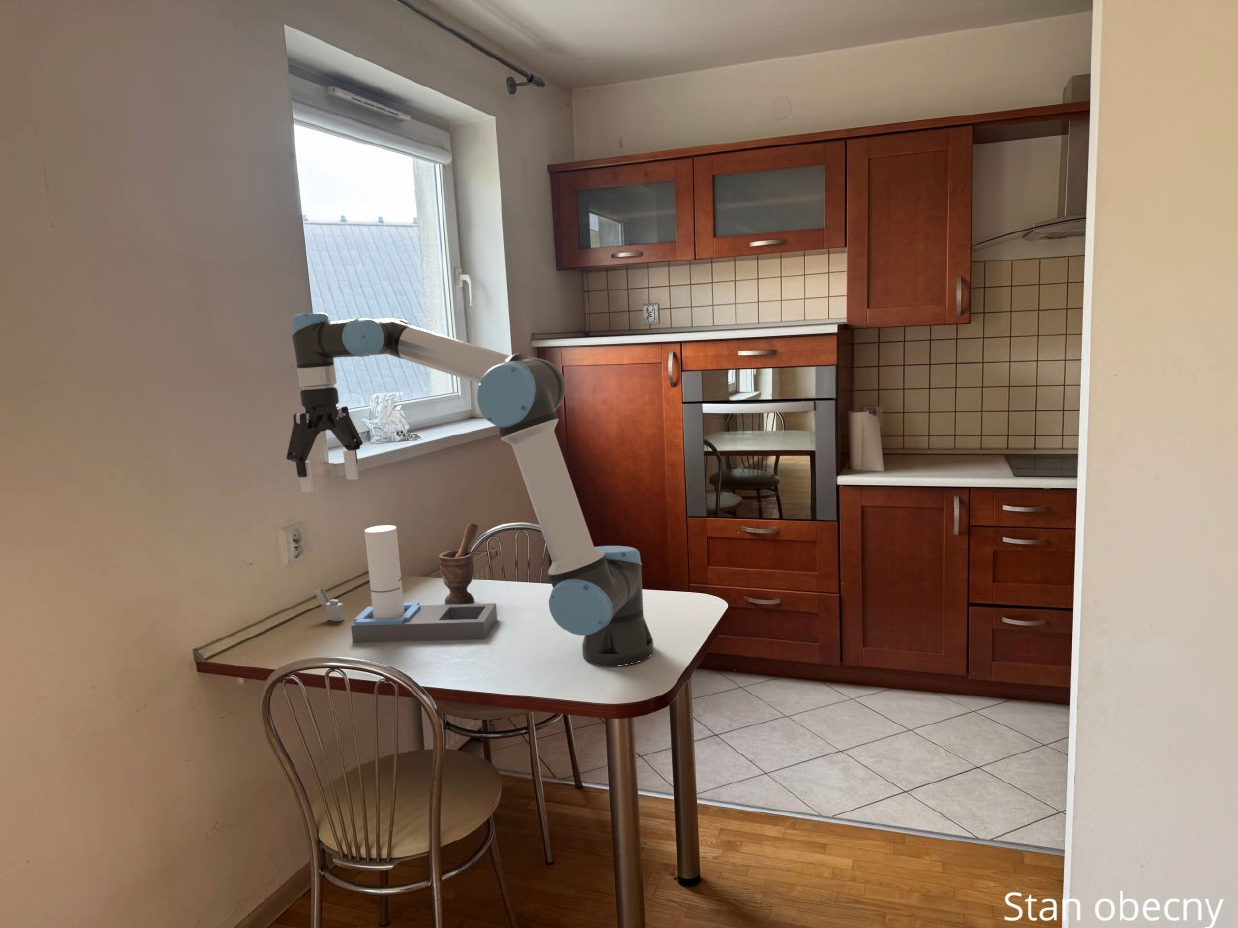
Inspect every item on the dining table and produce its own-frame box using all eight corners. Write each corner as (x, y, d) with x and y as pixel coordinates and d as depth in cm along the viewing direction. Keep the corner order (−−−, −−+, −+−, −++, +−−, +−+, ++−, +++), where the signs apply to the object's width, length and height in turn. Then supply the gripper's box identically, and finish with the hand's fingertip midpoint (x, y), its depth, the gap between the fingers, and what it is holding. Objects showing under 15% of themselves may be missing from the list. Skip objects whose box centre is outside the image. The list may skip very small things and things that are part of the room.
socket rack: (497, 618, 205) (495, 599, 204) (484, 638, 192) (483, 618, 191) (373, 622, 208) (371, 603, 207) (352, 641, 195) (350, 622, 194)
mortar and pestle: (459, 592, 227) (452, 520, 224) (488, 594, 225) (482, 521, 221) (437, 607, 217) (430, 531, 213) (467, 608, 214) (460, 532, 211)
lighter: (344, 619, 211) (341, 588, 209) (340, 622, 209) (336, 591, 208) (322, 617, 214) (319, 586, 212) (318, 619, 212) (314, 588, 211)
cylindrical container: (410, 626, 203) (400, 524, 200) (399, 636, 196) (389, 531, 193) (382, 626, 204) (371, 525, 200) (370, 636, 197) (359, 532, 193)
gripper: (345, 382, 192) (356, 474, 195) (259, 393, 169) (273, 497, 173) (371, 381, 189) (382, 474, 192) (287, 392, 166) (301, 498, 170)
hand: (330, 485), depth 182 cm, fingers open, 13 cm apart
